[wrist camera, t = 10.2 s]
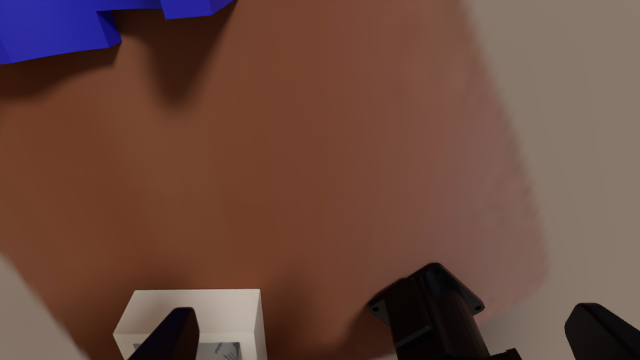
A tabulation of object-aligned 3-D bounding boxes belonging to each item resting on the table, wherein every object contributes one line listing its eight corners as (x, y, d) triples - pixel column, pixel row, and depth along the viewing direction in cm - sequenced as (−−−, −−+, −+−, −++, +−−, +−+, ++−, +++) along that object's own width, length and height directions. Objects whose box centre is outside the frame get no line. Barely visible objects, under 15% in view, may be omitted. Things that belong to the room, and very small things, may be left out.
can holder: (259, 288, 27) (253, 332, 24) (267, 360, 32) (263, 404, 29) (135, 290, 27) (112, 334, 24) (161, 362, 31) (146, 406, 28)
